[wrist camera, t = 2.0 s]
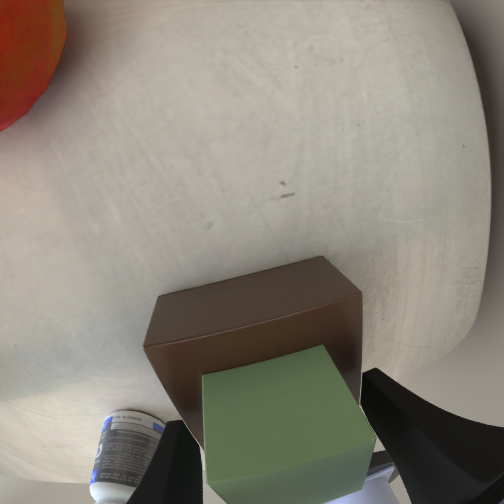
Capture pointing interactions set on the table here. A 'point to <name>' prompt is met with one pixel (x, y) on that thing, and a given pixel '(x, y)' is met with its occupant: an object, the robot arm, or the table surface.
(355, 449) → the green block
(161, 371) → the walnut base
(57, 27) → the apple
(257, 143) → the table surface
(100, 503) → the pill bottle
